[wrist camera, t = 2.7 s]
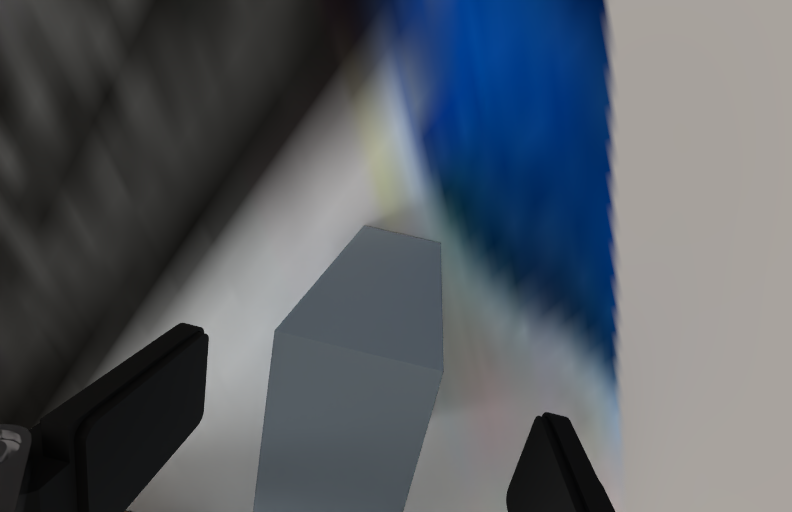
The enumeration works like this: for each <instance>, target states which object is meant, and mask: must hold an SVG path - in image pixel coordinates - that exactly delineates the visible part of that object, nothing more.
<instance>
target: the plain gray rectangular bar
mask: <svg viewBox="0 0 792 512" xmlns="http://www.w3.org/2000/svg"><path fill="white" fill-rule="evenodd" d="M443 372H444V371H443V326H442V281H441V243H438V242H434V241H430V240H425V239H421V238H417V237H412V236H408V235H403V234H399V233H395V232H390V231H386V230H382V229H377V228H373V227H368V226H363V227H362V229H361V230H360V231H359V232H358V233H357V234H356V236H355V237H354V238H353V239H352V240H351V241H350V243H349V244H348V245H347V246H346V247H345V249H344V250H343V251H342V252H341V253H340V254H339V256H338V257H337V258H336V259H335V260H334V261H333V263H332V264H331V265H330V266H329V267H328V269H327V270H326V271H325V272H324V273H323V274H322V276H321V277H320V278H319V279H318V280H317V281H316V283H315V284H314V285H313V286H312V287H311V289H310V290H309V291H308V292H307V293H306V294H305V296H304V297H303V298H302V299H301V300H300V302H299V303H298V304H297V305H296V306H295V307H294V309H293V310H292V311H291V312H290V313H289V314H288V316H287V317H286V318H285V319H284V320H283V322H282V323H281V324H280V325H279V326H278V327H277V329H276V330H275V332H274V341H273V349H272V357H271V366H270V374H269V383H268V391H267V399H266V408H265V416H264V424H263V433H262V441H261V449H260V458H259V466H258V474H257V483H256V491H255V500H254V508H253V512H403V510H404V507H405V503H406V500H407V496H408V493H409V489H410V486H411V482H412V479H413V476H414V472H415V469H416V465H417V462H418V458H419V455H420V451H421V448H422V444H423V441H424V437H425V434H426V430H427V427H428V424H429V420H430V417H431V413H432V410H433V406H434V403H435V399H436V396H437V392H438V389H439V385H440V382H441V379H442V375H443Z"/></svg>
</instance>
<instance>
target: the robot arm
mask: <svg viewBox="0 0 792 512" xmlns="http://www.w3.org/2000/svg"><path fill="white" fill-rule="evenodd" d="M208 342H209V337H208V335H207V334H204V330H203V328H202V327H198V326H194V325H190V324H186V323H180V324H178V325H176V326H175V327H173V328H172V329H171V330H169V331H168V332H166V333H165V334H163V335H162V336H160V337H159V338H158V339H156V340H155V341H153V342H152V343H150V344H149V345H147V346H146V347H144V348H143V349H142V350H140V351H139V352H137V353H136V354H134V355H133V356H131V357H130V358H128V359H127V360H126V361H124V362H123V363H121V364H120V365H118V366H117V367H115V368H114V369H113V370H111V371H110V372H108V373H107V374H105V375H104V376H102V377H101V378H99V379H98V380H97V381H95V382H94V383H92V384H91V385H89V386H88V387H86V388H85V389H84V390H82V391H81V392H79V393H78V394H76V395H75V396H73V397H72V398H70V399H69V400H68V401H66V402H65V403H63V404H62V405H60V406H59V407H57V408H56V409H54V410H53V411H52V412H50V413H49V414H47V415H46V416H44V417H43V418H41V419H40V423H39V424H38V425H36V426H35V427H33V428H32V429H30V430H29V431H28V430H27V429H26V428H24V427H21V426H19V425H11V424H1V425H0V512H124V511H125V510H126V509H127V507H128V506H129V505H130V504H131V503H132V502H133V500H134V499H135V498H136V497H137V496H138V495H139V493H140V492H141V491H142V490H143V489H144V488H145V486H146V485H147V484H148V483H149V482H150V481H151V479H152V478H153V477H154V476H155V475H156V474H157V472H158V471H159V470H160V469H161V468H162V467H163V465H164V464H165V463H166V462H167V461H168V460H169V458H170V457H171V456H172V455H173V454H174V453H175V451H176V450H177V449H178V448H179V447H180V446H181V444H182V443H183V442H184V441H185V440H186V439H187V437H188V436H189V435H190V434H191V433H192V432H193V430H194V429H195V428H196V427H197V426H198V424H199V423H200V421H201V419H202V416H203V412H204V400H205V386H206V371H207V356H208ZM506 503H507V509H508V512H615V510H614V508H613V506H612V504H611V502H610V500H609V498H608V496H607V494H606V492H605V490H604V487H603V486H602V484H601V483H600V481H599V480H598V478H597V476H596V474H595V472H594V470H593V467H592V465H591V463H590V461H589V459H588V457H587V455H586V453H585V451H584V449H583V447H582V445H581V442H580V440H579V438H578V436H577V434H576V432H575V430H574V428H573V426H572V424H571V422H570V420H569V418H567V417H564V416H560V415H556V414H552V413H548V412H546V413H544V414H543V415H542V417H541V416H537V417H536V418H535V420H534V423H533V425H532V428H531V430H530V433H529V436H528V438H527V441H526V443H525V446H524V449H523V451H522V454H521V456H520V459H519V462H518V464H517V467H516V469H515V472H514V475H513V477H512V480H511V482H510V485H509V488H508V491H507V497H506Z"/></svg>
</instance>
